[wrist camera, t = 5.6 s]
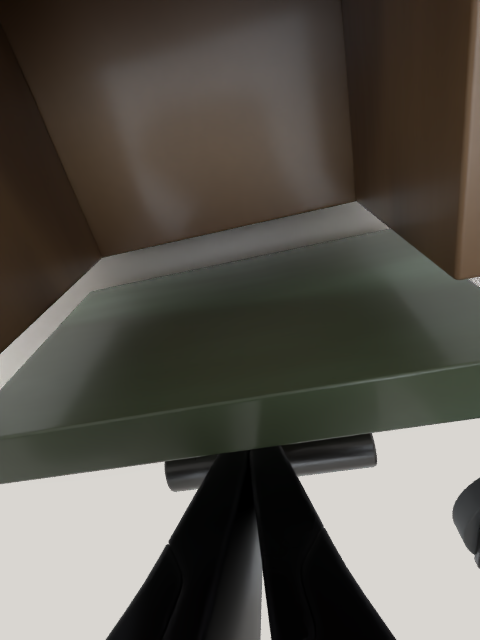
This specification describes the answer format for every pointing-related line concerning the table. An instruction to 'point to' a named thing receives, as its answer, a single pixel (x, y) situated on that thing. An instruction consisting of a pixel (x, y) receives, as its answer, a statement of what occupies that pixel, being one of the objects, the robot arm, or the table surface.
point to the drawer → (232, 212)
